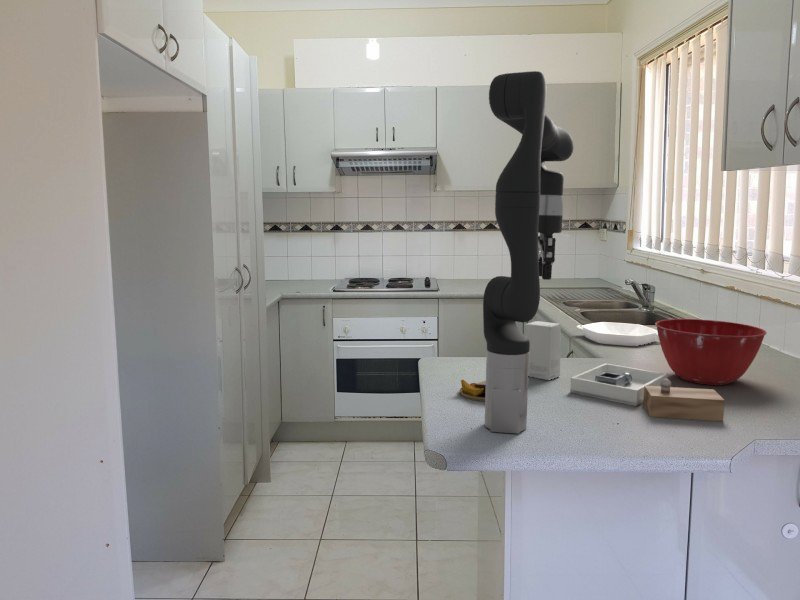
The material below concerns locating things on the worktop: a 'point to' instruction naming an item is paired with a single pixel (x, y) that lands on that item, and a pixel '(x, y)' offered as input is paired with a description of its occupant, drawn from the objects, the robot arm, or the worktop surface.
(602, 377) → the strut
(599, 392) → the bin
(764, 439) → the worktop surface
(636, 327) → the white serving platter
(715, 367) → the mixing bowl
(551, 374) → the skincare box
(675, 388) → the stud block
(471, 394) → the toy sandwich meal
